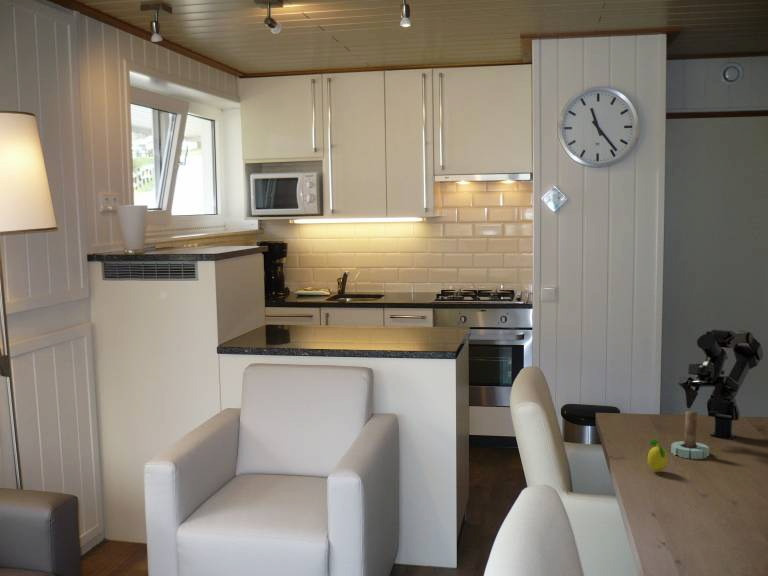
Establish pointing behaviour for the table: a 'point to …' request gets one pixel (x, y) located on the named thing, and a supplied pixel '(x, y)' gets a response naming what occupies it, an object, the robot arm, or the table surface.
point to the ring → (690, 450)
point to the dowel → (690, 429)
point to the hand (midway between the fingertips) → (700, 408)
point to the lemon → (657, 456)
